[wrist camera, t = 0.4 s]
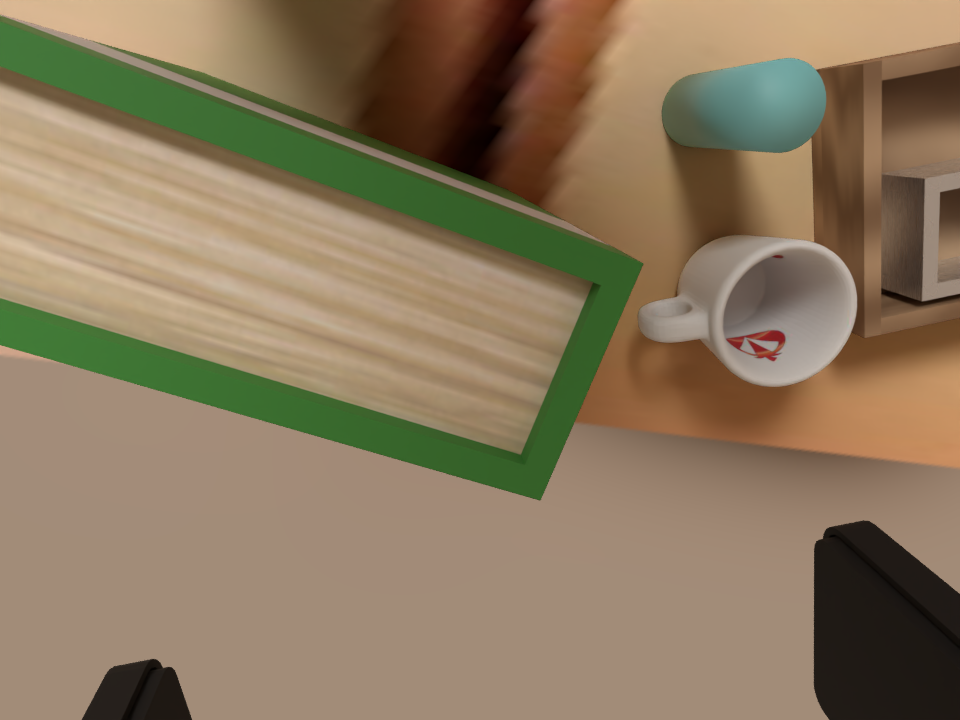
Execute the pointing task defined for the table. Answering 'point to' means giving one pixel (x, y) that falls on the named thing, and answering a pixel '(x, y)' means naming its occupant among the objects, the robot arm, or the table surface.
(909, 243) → the socket
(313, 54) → the table surface
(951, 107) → the box
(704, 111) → the plug
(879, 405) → the table surface
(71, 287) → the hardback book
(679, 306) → the cup
